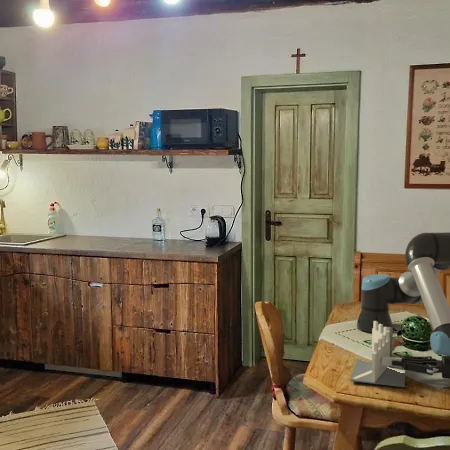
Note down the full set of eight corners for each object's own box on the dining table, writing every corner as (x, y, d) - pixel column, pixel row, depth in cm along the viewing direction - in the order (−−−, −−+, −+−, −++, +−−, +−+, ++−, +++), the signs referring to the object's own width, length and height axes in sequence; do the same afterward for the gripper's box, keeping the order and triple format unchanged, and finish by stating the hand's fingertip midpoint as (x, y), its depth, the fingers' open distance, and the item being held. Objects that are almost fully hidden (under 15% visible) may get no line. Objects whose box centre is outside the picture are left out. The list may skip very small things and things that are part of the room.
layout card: (359, 351, 226) (359, 349, 226) (406, 355, 220) (406, 354, 220) (350, 380, 195) (350, 379, 195) (404, 387, 189) (404, 385, 189)
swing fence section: (386, 364, 209) (387, 329, 207) (389, 364, 208) (390, 330, 207) (371, 382, 191) (372, 344, 190) (374, 382, 191) (375, 344, 190)
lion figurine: (387, 329, 233) (408, 335, 228) (386, 340, 235) (407, 347, 230) (372, 345, 223) (394, 352, 217) (371, 356, 224) (393, 364, 219)
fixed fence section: (392, 365, 209) (393, 328, 207) (387, 365, 208) (388, 328, 207) (375, 352, 223) (376, 318, 221) (370, 353, 222) (371, 318, 221)
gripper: (455, 385, 184) (380, 377, 191) (452, 372, 196) (382, 365, 203) (456, 363, 183) (381, 356, 190) (453, 351, 195) (382, 344, 202)
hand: (381, 360), depth 197 cm, fingers closed
